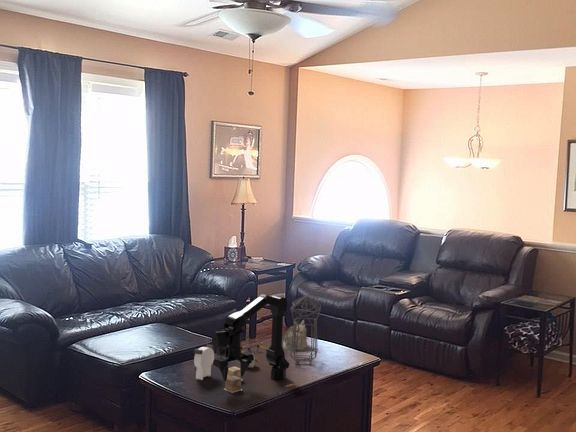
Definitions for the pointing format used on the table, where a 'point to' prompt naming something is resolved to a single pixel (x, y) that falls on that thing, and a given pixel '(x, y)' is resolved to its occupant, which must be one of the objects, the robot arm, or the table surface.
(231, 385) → the walnut block
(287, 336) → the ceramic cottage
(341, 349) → the table surface
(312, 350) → the geometric lantern
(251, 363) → the game die
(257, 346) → the eyeglasses
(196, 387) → the table surface
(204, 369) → the white rounded piece
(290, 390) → the table surface
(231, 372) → the oak block
